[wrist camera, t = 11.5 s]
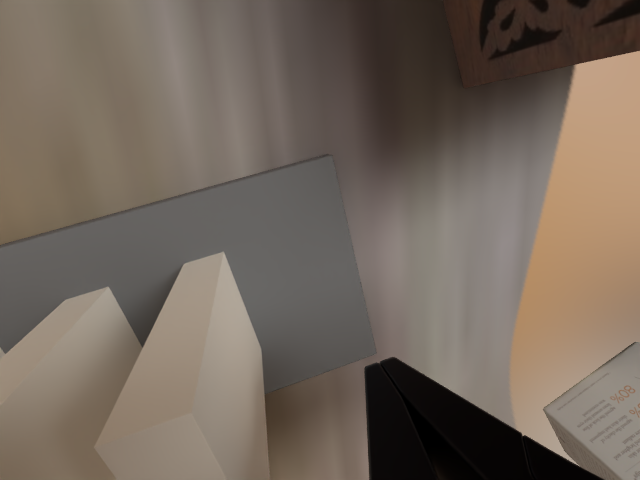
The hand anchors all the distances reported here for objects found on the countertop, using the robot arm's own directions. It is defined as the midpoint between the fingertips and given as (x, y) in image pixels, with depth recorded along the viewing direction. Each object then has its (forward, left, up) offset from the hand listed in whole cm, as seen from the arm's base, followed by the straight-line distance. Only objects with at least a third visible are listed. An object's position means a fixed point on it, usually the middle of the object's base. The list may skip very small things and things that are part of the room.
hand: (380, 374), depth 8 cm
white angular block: (0, +5, -6) cm, 8 cm away
